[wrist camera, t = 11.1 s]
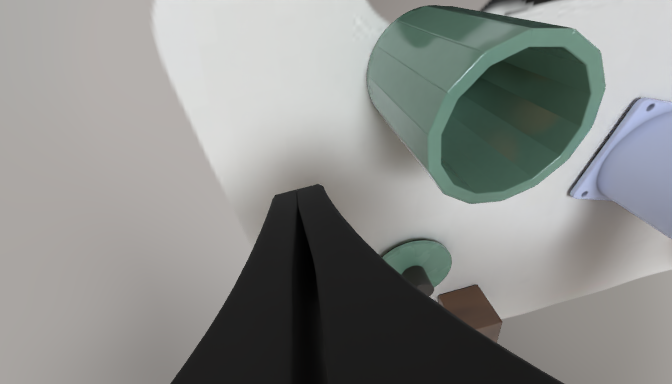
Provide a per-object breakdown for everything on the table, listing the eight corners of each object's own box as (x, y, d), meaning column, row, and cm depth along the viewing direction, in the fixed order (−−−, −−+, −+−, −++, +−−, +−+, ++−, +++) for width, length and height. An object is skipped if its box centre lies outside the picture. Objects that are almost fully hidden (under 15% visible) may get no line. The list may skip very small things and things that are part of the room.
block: (473, 307, 32) (496, 344, 29) (437, 317, 32) (456, 355, 29) (477, 284, 30) (502, 321, 27) (438, 295, 30) (458, 334, 26)
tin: (481, -11, 15) (635, 1, 9) (471, 111, 19) (575, 181, 12) (358, 20, 15) (426, 56, 8) (374, 137, 19) (428, 221, 12)
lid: (447, 226, 24) (466, 252, 22) (445, 278, 28) (461, 305, 26) (364, 249, 24) (374, 277, 22) (374, 298, 28) (384, 327, 26)
